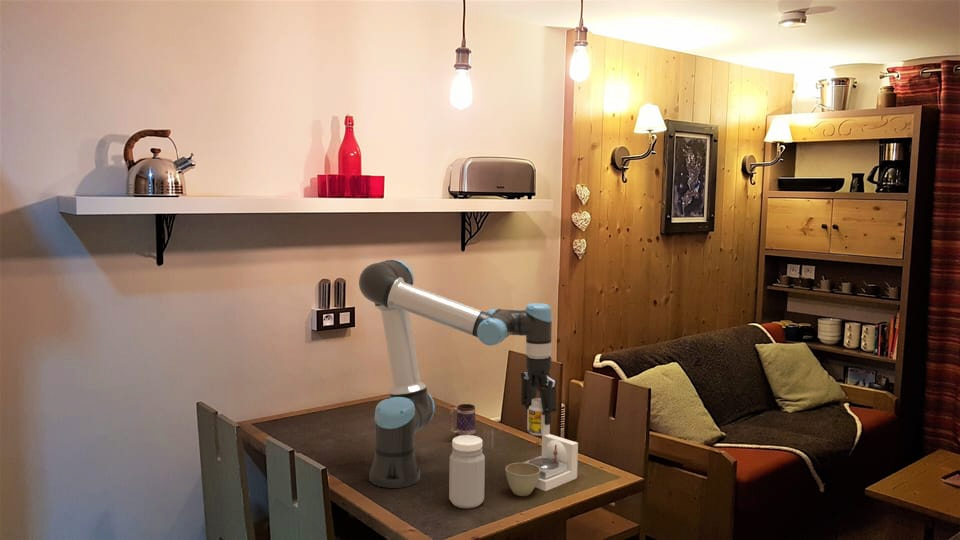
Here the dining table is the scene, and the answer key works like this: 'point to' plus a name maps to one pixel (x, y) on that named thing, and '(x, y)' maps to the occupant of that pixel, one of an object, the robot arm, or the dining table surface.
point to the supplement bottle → (535, 416)
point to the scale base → (562, 453)
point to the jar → (467, 472)
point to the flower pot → (522, 477)
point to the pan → (548, 466)
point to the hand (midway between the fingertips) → (538, 432)
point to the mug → (464, 420)
